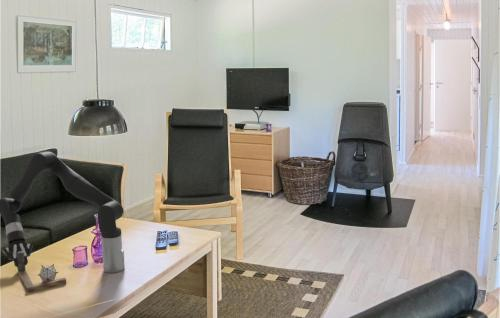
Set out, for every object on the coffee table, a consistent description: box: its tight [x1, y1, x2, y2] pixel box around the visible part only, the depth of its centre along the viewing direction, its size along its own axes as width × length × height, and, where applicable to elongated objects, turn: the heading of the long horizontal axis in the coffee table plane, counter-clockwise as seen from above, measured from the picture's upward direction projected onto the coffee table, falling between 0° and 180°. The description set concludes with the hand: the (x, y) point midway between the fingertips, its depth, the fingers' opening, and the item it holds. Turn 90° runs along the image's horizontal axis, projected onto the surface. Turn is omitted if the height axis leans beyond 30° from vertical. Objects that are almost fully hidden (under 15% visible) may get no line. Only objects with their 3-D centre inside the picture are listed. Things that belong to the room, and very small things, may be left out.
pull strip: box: [16, 250, 67, 294], centre depth 226 cm, size 16×26×10 cm, turn 34°
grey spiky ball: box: [37, 263, 59, 283], centre depth 222 cm, size 9×8×10 cm
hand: (21, 265), depth 230 cm, fingers closed on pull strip, 3 cm apart
